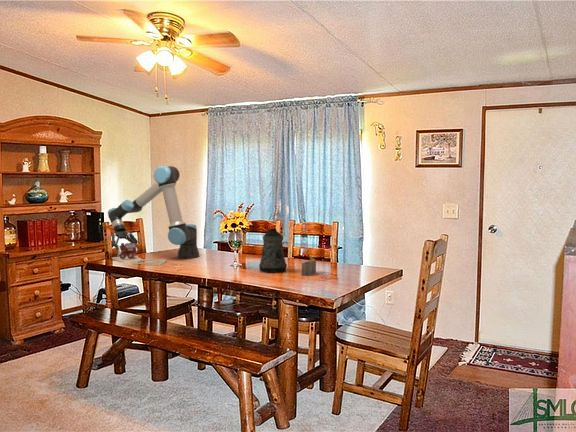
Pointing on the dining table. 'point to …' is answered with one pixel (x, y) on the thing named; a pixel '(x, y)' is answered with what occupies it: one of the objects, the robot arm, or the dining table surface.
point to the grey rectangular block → (309, 267)
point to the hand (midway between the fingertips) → (128, 252)
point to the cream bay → (125, 259)
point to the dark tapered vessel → (272, 253)
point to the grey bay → (150, 263)
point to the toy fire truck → (127, 250)
